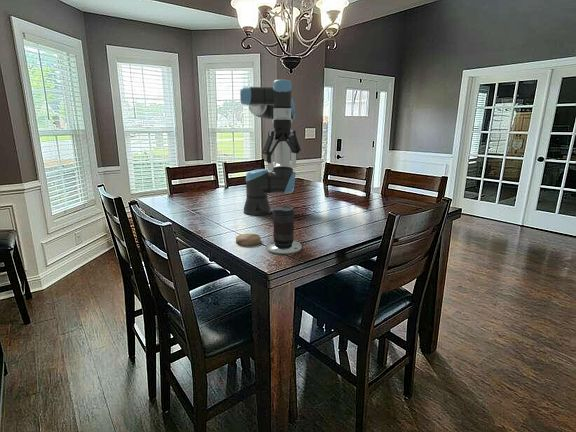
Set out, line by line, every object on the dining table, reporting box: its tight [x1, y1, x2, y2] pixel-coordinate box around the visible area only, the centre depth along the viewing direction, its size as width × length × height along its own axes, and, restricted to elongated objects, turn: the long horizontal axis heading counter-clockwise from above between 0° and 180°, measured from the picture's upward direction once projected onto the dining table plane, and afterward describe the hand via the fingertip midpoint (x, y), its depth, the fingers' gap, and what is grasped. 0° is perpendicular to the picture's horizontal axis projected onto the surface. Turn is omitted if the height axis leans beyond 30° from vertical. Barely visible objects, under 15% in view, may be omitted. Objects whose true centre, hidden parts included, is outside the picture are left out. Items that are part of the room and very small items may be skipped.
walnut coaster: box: [235, 233, 262, 247], centre depth 139 cm, size 10×10×2 cm
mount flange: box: [265, 240, 303, 256], centre depth 133 cm, size 14×14×1 cm
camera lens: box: [272, 205, 295, 248], centre depth 131 cm, size 8×8×15 cm
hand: (282, 169), depth 150 cm, fingers open, 13 cm apart
